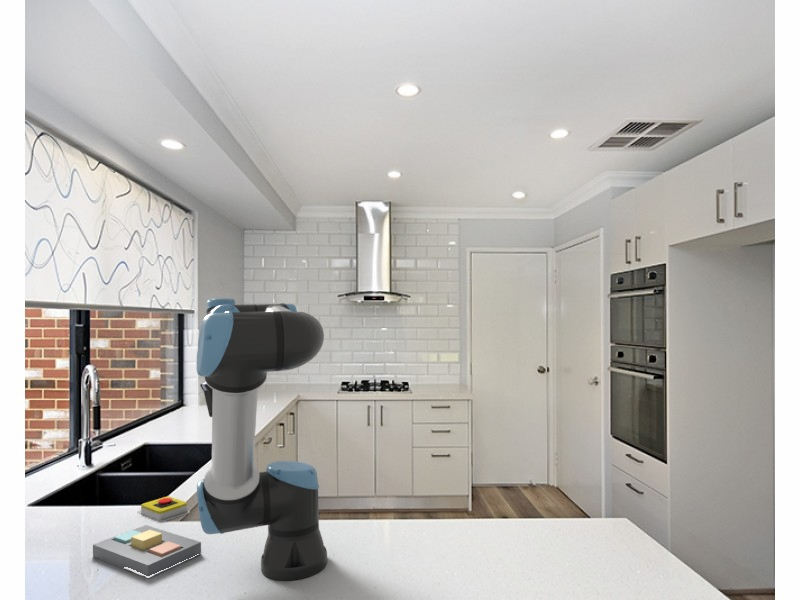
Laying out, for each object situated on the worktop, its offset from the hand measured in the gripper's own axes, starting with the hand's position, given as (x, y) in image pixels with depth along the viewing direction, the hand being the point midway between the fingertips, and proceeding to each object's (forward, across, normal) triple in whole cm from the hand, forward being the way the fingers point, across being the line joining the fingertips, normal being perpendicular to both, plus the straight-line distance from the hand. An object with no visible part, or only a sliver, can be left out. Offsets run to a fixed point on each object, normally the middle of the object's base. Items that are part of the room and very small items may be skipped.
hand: (223, 441), depth 146 cm
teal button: (+24, +19, -13) cm, 33 cm away
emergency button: (+25, -2, -30) cm, 39 cm away
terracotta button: (+24, +19, +1) cm, 31 cm away
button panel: (+24, +19, -6) cm, 32 cm away
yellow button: (+22, +19, -6) cm, 30 cm away
